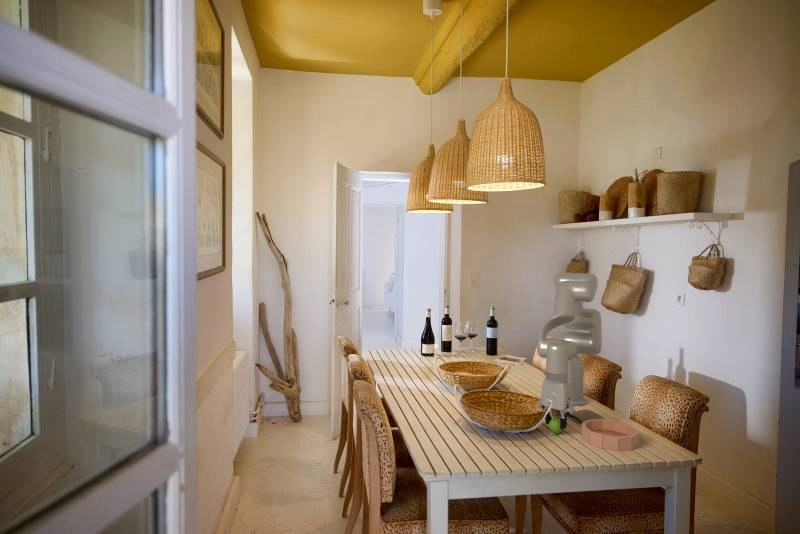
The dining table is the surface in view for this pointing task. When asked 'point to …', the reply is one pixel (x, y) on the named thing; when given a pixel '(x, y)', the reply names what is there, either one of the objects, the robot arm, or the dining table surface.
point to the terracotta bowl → (610, 434)
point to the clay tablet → (586, 415)
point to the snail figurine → (555, 420)
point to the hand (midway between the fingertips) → (555, 425)
